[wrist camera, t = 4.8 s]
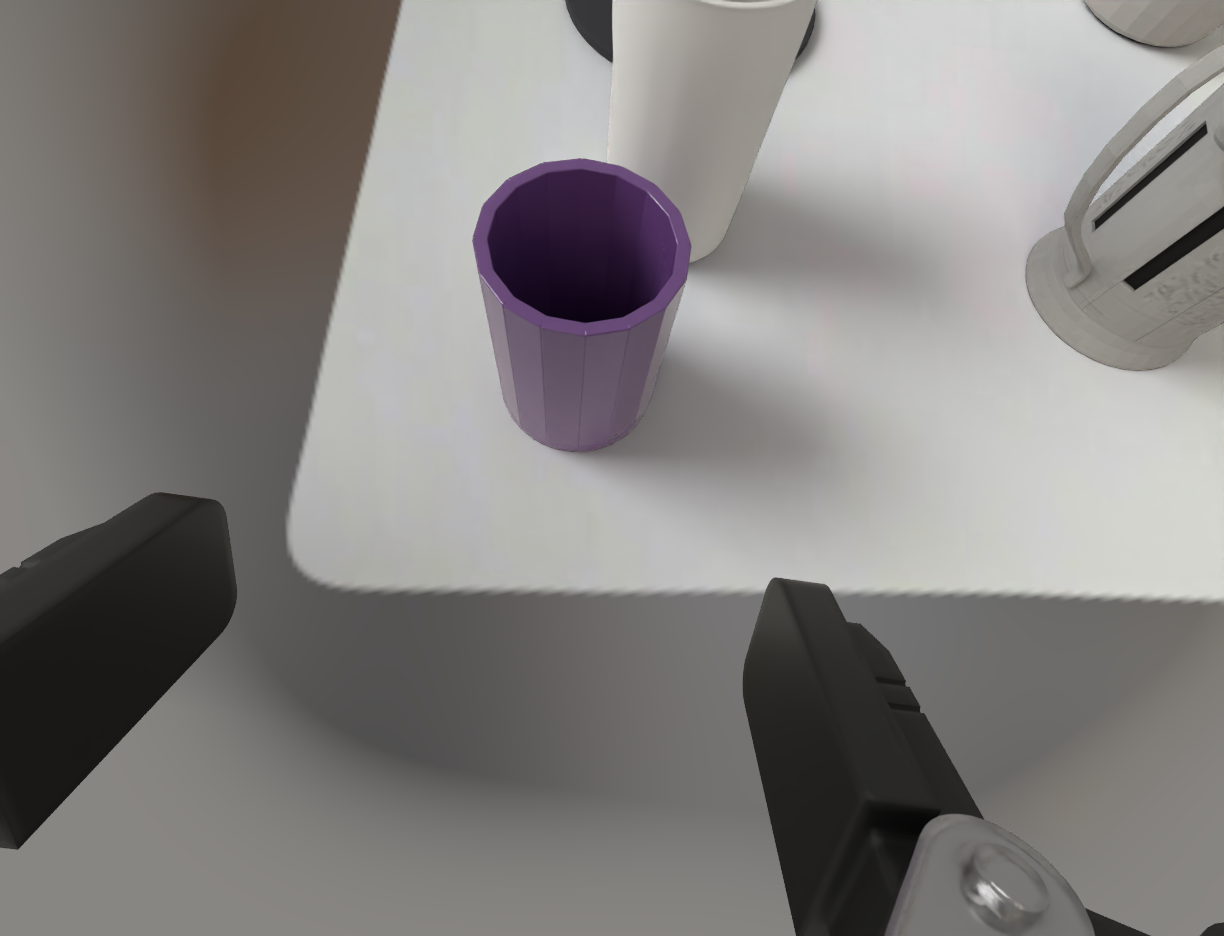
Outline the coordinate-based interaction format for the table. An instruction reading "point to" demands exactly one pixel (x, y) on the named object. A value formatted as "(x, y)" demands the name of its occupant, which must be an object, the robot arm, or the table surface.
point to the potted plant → (1160, 19)
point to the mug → (699, 98)
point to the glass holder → (1143, 238)
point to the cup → (580, 296)
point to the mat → (594, 23)
